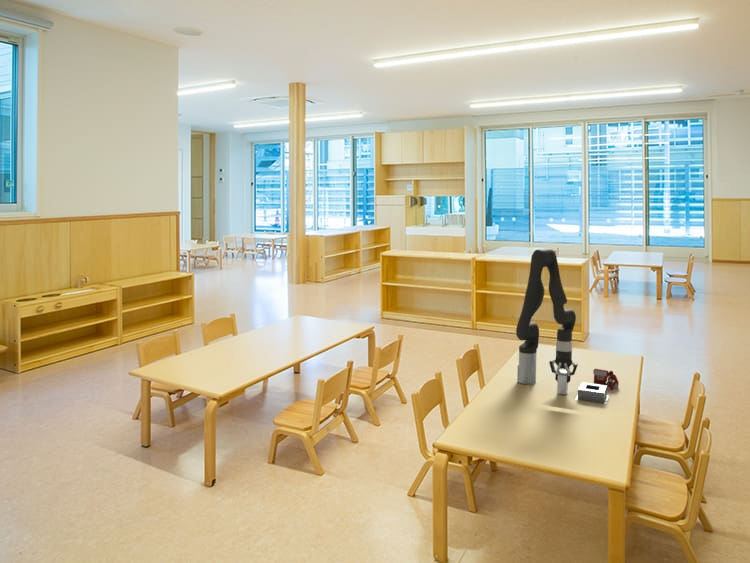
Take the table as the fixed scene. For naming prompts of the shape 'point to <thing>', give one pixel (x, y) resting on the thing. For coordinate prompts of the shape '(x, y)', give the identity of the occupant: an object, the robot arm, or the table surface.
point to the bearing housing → (592, 393)
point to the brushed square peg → (562, 382)
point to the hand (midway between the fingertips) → (562, 381)
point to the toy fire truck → (605, 378)
